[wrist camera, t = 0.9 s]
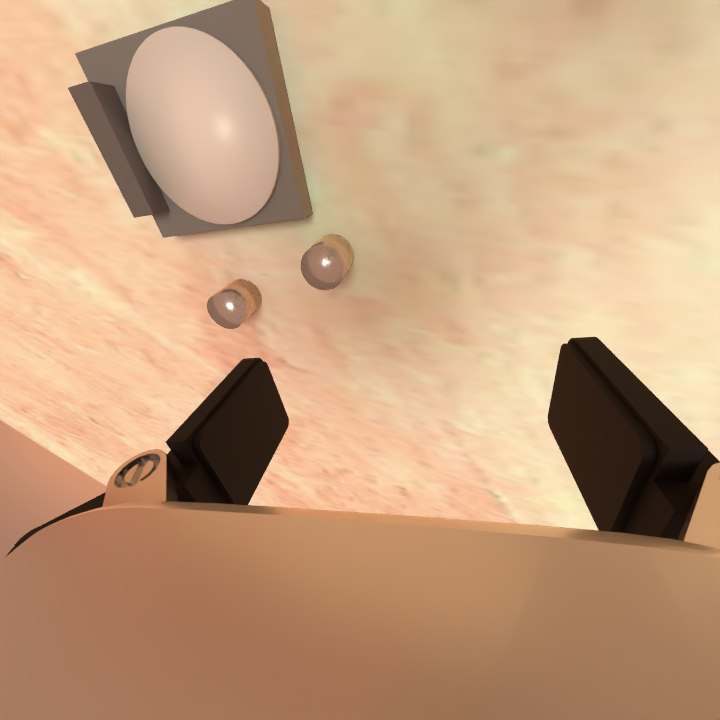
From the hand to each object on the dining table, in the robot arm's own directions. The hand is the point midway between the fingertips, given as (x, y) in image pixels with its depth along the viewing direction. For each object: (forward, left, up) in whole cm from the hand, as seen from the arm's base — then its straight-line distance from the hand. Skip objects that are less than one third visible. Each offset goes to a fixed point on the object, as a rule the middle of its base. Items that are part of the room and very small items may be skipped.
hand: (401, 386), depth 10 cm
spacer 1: (+6, -23, -26) cm, 35 cm away
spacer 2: (+2, -10, -26) cm, 28 cm away
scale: (-10, -20, -26) cm, 34 cm away
